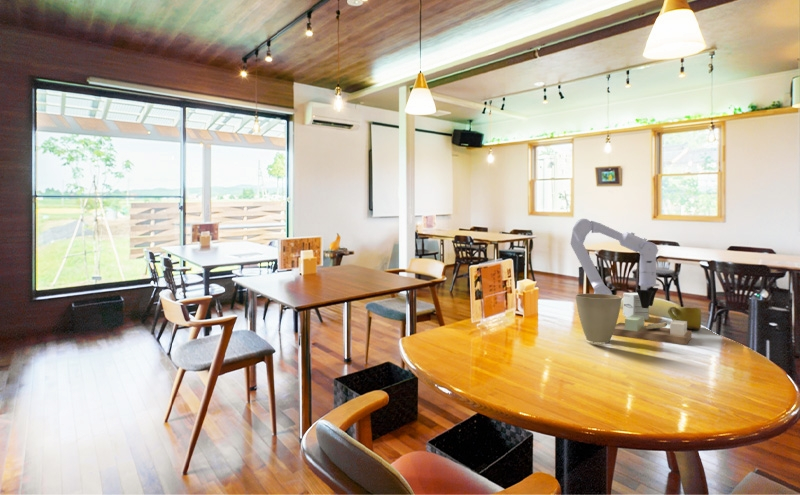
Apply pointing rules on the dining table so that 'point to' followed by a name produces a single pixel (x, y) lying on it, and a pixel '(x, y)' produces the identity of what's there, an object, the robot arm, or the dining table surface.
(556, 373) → the dining table surface
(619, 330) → the panel
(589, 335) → the plant pot
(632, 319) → the light green rectangular bar
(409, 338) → the dining table surface
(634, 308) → the supplement box
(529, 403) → the dining table surface
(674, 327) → the button white
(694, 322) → the mug
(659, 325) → the tan flat block
